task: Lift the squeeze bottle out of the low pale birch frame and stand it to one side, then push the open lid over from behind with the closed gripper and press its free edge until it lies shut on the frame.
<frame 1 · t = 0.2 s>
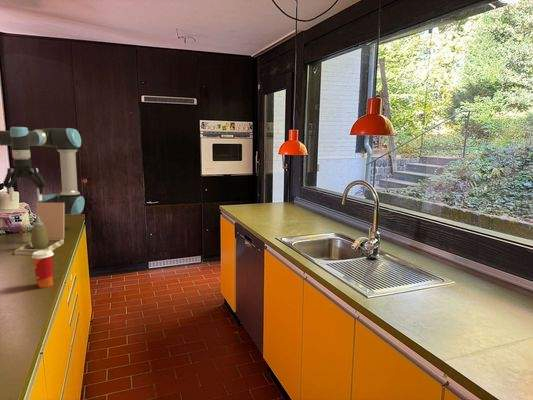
hand: (26, 200, 189), 28 cm above the worktop, tool pointing down, fingers open, 13 cm apart
paper cup: (45, 285, 152), on the worktop
lid: (50, 220, 210), point 13 cm above the worktop, hinge at 100.0°
frame: (40, 248, 200), on the worktop
squeeze bottle: (40, 249, 200), resting in frame
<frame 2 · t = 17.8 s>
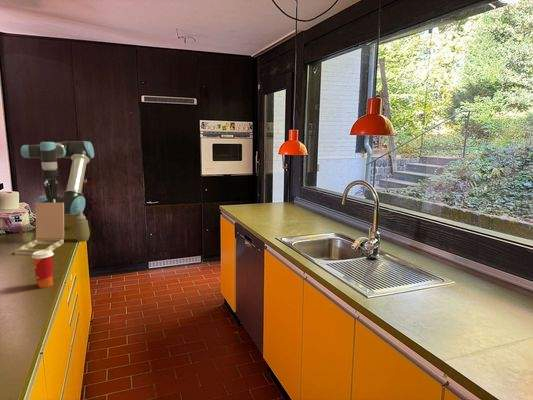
hand: (53, 210, 213), 18 cm above the worktop, tool pointing down, fingers closed
lid: (50, 220, 210), point 13 cm above the worktop, hinge at 98.1°, touching gripper
squeeze bottle: (82, 241, 217), on the worktop
everything else where it was.
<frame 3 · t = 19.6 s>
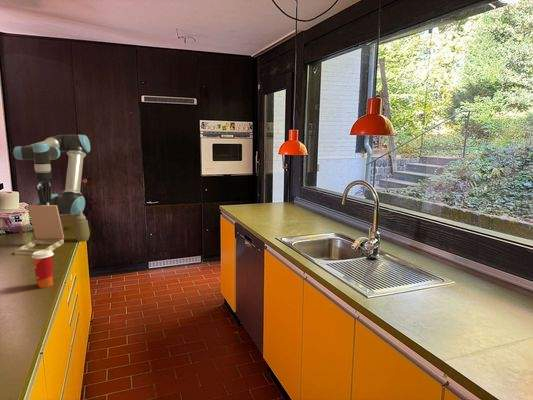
hand: (46, 214, 206), 17 cm above the worktop, tool pointing down, fingers closed
lid: (46, 222, 206), point 13 cm above the worktop, hinge at 75.6°, touching gripper
everything else where it was.
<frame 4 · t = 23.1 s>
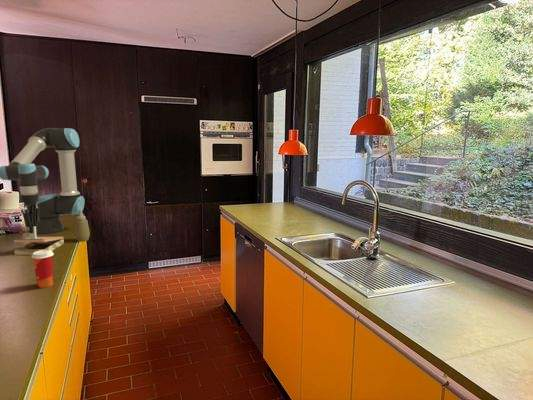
hand: (33, 238, 193), 7 cm above the worktop, tool pointing down, fingers closed
lid: (39, 239, 200), point 5 cm above the worktop, hinge at 10.2°
everything else where it was.
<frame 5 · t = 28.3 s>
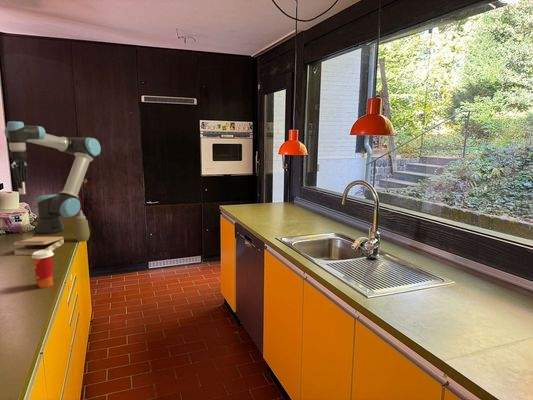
hand: (22, 193, 205), 28 cm above the worktop, tool pointing down, fingers closed
lid: (39, 240, 200), point 5 cm above the worktop, hinge at 6.6°
everything else where it was.
at the end: lid at +7° (first picture: +100°); squeeze bottle inside the target area (0.1 cm from its centre), on the worktop; squeeze bottle tilted 0° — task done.
